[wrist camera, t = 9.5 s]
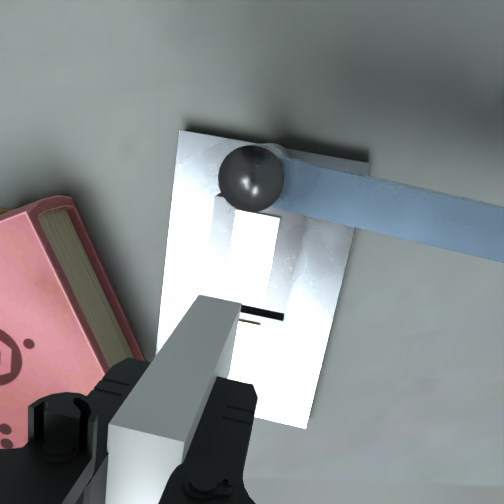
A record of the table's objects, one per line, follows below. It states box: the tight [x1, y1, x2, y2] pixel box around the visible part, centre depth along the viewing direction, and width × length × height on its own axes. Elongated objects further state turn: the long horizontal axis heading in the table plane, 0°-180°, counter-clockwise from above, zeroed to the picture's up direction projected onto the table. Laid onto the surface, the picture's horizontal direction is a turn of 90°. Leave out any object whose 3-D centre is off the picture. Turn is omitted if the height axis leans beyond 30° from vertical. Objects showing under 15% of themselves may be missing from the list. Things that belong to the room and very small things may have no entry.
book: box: [0, 195, 147, 449], centre depth 28 cm, size 14×15×5 cm
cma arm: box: [218, 145, 504, 263], centre depth 17 cm, size 16×3×2 cm, turn 78°
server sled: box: [155, 130, 371, 429], centre depth 24 cm, size 18×11×6 cm, turn 171°
